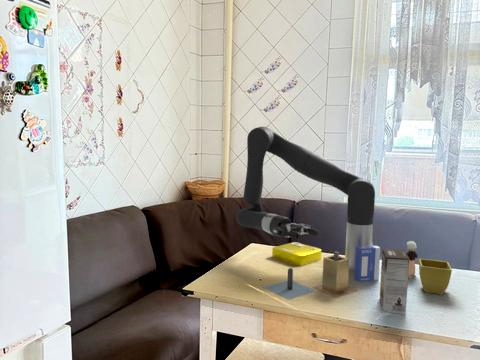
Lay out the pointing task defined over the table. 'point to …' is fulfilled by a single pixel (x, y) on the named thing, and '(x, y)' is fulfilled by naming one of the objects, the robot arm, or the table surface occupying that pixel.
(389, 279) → the coffee box
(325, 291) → the walnut stand
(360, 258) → the walkman
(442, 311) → the table surface
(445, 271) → the flower pot
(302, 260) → the element tile
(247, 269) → the table surface
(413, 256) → the grandmother figurine
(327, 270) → the bronze sleeve
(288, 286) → the blue peg stand
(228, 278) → the table surface
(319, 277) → the table surface
